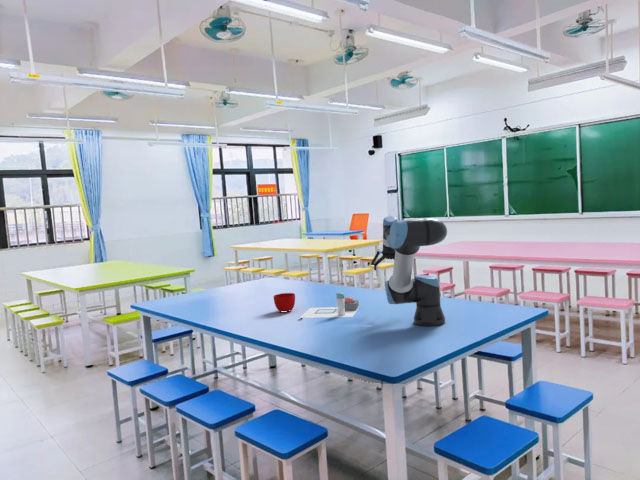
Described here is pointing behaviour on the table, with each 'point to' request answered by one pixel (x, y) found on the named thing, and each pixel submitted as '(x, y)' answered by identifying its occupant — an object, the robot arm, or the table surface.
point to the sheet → (326, 313)
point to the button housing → (351, 306)
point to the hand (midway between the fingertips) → (389, 276)
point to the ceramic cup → (284, 301)
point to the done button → (349, 300)
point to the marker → (340, 304)
